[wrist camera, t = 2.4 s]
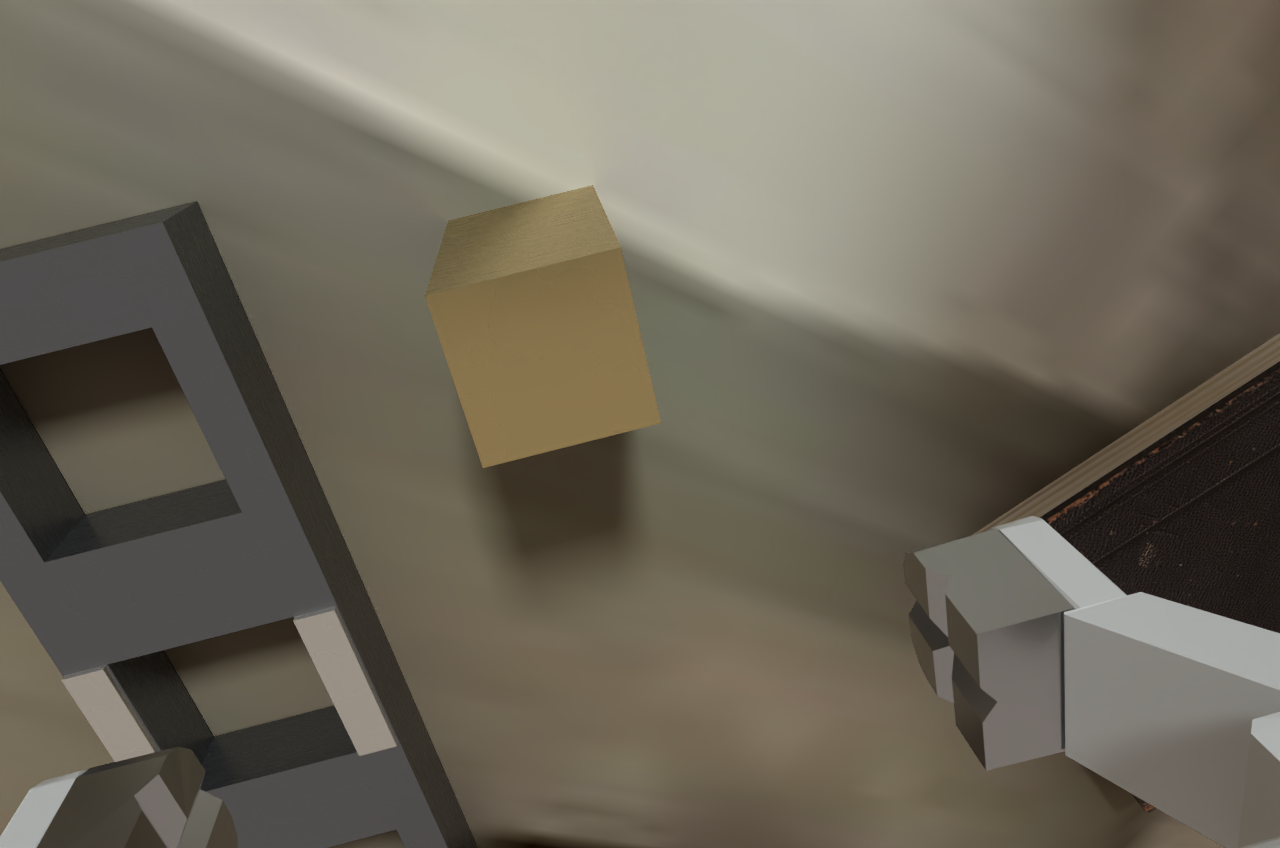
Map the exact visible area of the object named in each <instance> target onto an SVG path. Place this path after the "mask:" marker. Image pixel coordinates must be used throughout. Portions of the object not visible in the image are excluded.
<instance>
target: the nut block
mask: <svg viewBox="0 0 1280 848" xmlns="http://www.w3.org/2000/svg"><path fill="white" fill-rule="evenodd" d="M425 298H426V301H427V304H428V306H429V309H430V312H431V315H432V318H433V321H434V324H435V327H436V330H437V333H438V336H439V339H440V342H441V345H442V348H443V351H444V354H445V357H446V360H447V363H448V366H449V369H450V372H451V375H452V378H453V381H454V384H455V387H456V390H457V393H458V396H459V399H460V401H461V404H462V407H463V410H464V413H465V416H466V419H467V422H468V425H469V428H470V431H471V434H472V437H473V440H474V443H475V446H476V449H477V452H478V455H479V458H480V461H481V464H482V467H483V468H486V467H490V466H493V465H497V464H501V463H505V462H509V461H513V460H517V459H521V458H525V457H529V456H533V455H537V454H541V453H545V452H549V451H553V450H557V449H561V448H565V447H569V446H573V445H577V444H581V443H584V442H588V441H592V440H596V439H600V438H604V437H608V436H612V435H616V434H620V433H624V432H628V431H632V430H636V429H640V428H644V427H648V426H652V425H656V424H660V423H661V421H660V417H659V412H658V408H657V404H656V399H655V395H654V391H653V386H652V382H651V377H650V373H649V369H648V364H647V360H646V356H645V351H644V347H643V343H642V338H641V334H640V329H639V325H638V321H637V316H636V312H635V308H634V303H633V299H632V295H631V290H630V286H629V281H628V277H627V273H626V268H625V264H624V260H623V255H622V251H621V247H620V245H619V242H618V240H617V238H616V236H615V234H614V231H613V229H612V227H611V225H610V222H609V220H608V218H607V216H606V213H605V211H604V209H603V207H602V205H601V202H600V200H599V198H598V196H597V193H596V191H595V189H594V187H593V185H592V186H588V187H584V188H580V189H576V190H572V191H567V192H563V193H559V194H555V195H551V196H547V197H543V198H539V199H535V200H531V201H527V202H523V203H519V204H515V205H511V206H507V207H502V208H498V209H494V210H490V211H486V212H482V213H478V214H474V215H470V216H466V217H462V218H458V219H454V220H450V221H448V224H447V227H446V230H445V233H444V236H443V240H442V243H441V246H440V249H439V252H438V256H437V259H436V262H435V265H434V268H433V272H432V275H431V278H430V281H429V284H428V288H427V291H426V294H425Z"/></svg>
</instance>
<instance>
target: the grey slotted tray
mask: <svg viewBox="0 0 1280 848" xmlns="http://www.w3.org/2000/svg"><path fill="white" fill-rule="evenodd" d="M147 328H153V331H154V333H155V335H156V337H157V339H158V341H159V343H160V345H161V347H162V349H163V351H164V353H165V355H166V357H167V359H168V361H169V363H170V365H171V367H172V370H173V372H174V374H175V376H176V378H177V380H178V382H179V384H180V386H181V388H182V390H183V392H184V394H185V396H186V398H187V400H188V402H189V404H190V407H191V409H192V411H193V413H194V415H195V417H196V419H197V421H198V423H199V425H200V427H201V429H202V431H203V433H204V435H205V437H206V439H207V441H208V443H209V446H210V448H211V450H212V452H213V454H214V456H215V458H216V460H217V462H218V464H219V466H220V468H221V470H222V472H223V474H224V476H225V478H226V479H225V480H221V481H217V482H214V483H210V484H206V485H202V486H198V487H194V488H190V489H186V490H182V491H178V492H174V493H170V494H166V495H162V496H158V497H154V498H150V499H146V500H142V501H138V502H134V503H130V504H126V505H122V506H118V507H114V508H110V509H106V510H102V511H98V512H94V513H90V514H86V515H84V513H83V511H82V509H81V508H80V506H79V504H78V502H77V501H76V499H75V497H74V496H73V494H72V492H71V490H70V489H69V487H68V485H67V484H66V482H65V480H64V478H63V477H62V475H61V473H60V471H59V470H58V468H57V466H56V465H55V463H54V461H53V459H52V458H51V456H50V454H49V453H48V451H47V449H46V447H45V446H44V444H43V442H42V440H41V439H40V437H39V435H38V434H37V432H36V430H35V428H34V427H33V425H32V423H31V421H30V420H29V418H28V416H27V415H26V413H25V411H24V409H23V408H22V406H21V404H20V403H19V401H18V399H17V397H16V396H15V394H14V392H13V390H12V389H11V387H10V385H9V384H8V382H7V380H6V378H5V377H4V375H3V373H2V372H1V370H0V581H1V582H2V584H3V585H4V587H5V589H6V590H7V592H8V593H9V595H10V596H11V598H12V599H13V601H14V602H15V604H16V605H17V607H18V608H19V610H20V611H21V613H22V614H23V616H24V618H25V619H26V621H27V622H28V624H29V625H30V627H31V628H32V630H33V631H34V633H35V634H36V636H37V637H38V639H39V640H40V642H41V643H42V645H43V647H44V648H45V650H46V651H47V653H48V654H49V656H50V657H51V659H52V660H53V662H54V663H55V665H56V666H57V668H58V669H59V671H60V672H61V674H62V676H63V678H62V680H61V681H62V682H63V684H64V685H65V687H66V688H67V690H68V691H69V693H70V694H71V696H72V697H73V699H74V700H75V702H76V703H77V705H78V706H79V708H80V709H81V711H82V712H83V714H84V715H85V717H86V719H87V720H88V722H89V723H90V725H91V726H92V728H93V729H94V731H95V732H96V734H97V735H98V737H99V738H100V740H101V741H102V743H103V744H104V746H105V747H106V749H107V750H108V752H109V753H110V755H111V756H112V758H113V760H114V761H115V762H117V761H121V760H126V759H130V758H134V757H138V756H142V755H146V754H150V753H154V752H158V751H162V750H166V749H171V748H175V747H182V748H186V749H191V750H192V751H193V753H194V754H195V756H196V757H197V759H198V760H199V762H200V763H201V765H202V766H203V768H204V769H205V771H206V772H205V775H204V778H203V782H202V785H201V788H200V789H201V790H203V791H205V792H207V793H209V794H211V795H213V796H215V797H217V798H219V799H221V800H223V802H224V803H225V805H226V807H227V809H228V810H229V812H230V814H231V816H232V818H233V822H234V826H235V829H236V833H237V836H238V848H328V847H332V846H336V845H340V844H344V843H347V842H351V841H355V840H359V839H363V838H366V837H370V836H374V835H378V834H382V833H385V832H389V831H393V830H397V832H398V834H399V836H400V838H401V840H402V842H403V844H404V846H405V848H477V845H476V843H475V841H474V838H473V836H472V834H471V831H470V829H469V827H468V825H467V822H466V820H465V818H464V815H463V813H462V811H461V808H460V806H459V804H458V802H457V799H456V797H455V795H454V792H453V790H452V788H451V785H450V783H449V781H448V778H447V776H446V774H445V772H444V769H443V767H442V765H441V762H440V760H439V758H438V755H437V753H436V751H435V749H434V746H433V744H432V742H431V739H430V737H429V735H428V732H427V730H426V728H425V725H424V723H423V721H422V719H421V716H420V714H419V712H418V709H417V707H416V705H415V702H414V700H413V698H412V696H411V693H410V691H409V689H408V686H407V684H406V682H405V679H404V677H403V675H402V673H401V670H400V668H399V666H398V663H397V661H396V659H395V656H394V654H393V652H392V649H391V647H390V645H389V643H388V640H387V638H386V636H385V633H384V631H383V629H382V626H381V624H380V622H379V620H378V617H377V615H376V613H375V610H374V608H373V606H372V603H371V601H370V599H369V597H368V594H367V592H366V590H365V587H364V585H363V583H362V580H361V578H360V576H359V573H358V571H357V569H356V567H355V564H354V562H353V560H352V557H351V555H350V553H349V550H348V548H347V546H346V544H345V541H344V539H343V537H342V534H341V532H340V530H339V527H338V525H337V523H336V520H335V518H334V516H333V514H332V511H331V509H330V507H329V504H328V502H327V500H326V497H325V495H324V493H323V491H322V488H321V486H320V484H319V481H318V479H317V477H316V474H315V472H314V470H313V468H312V465H311V463H310V461H309V458H308V456H307V454H306V451H305V449H304V447H303V444H302V442H301V440H300V438H299V435H298V433H297V431H296V428H295V426H294V424H293V421H292V419H291V417H290V415H289V412H288V410H287V408H286V405H285V403H284V401H283V398H282V396H281V394H280V392H279V389H278V387H277V385H276V382H275V380H274V378H273V375H272V373H271V371H270V368H269V366H268V364H267V362H266V359H265V357H264V355H263V352H262V350H261V348H260V345H259V343H258V341H257V339H256V336H255V334H254V332H253V329H252V327H251V325H250V322H249V320H248V318H247V315H246V313H245V311H244V309H243V306H242V304H241V302H240V299H239V297H238V295H237V292H236V290H235V288H234V286H233V283H232V281H231V279H230V276H229V274H228V272H227V269H226V267H225V265H224V263H223V260H222V258H221V256H220V253H219V251H218V249H217V246H216V244H215V242H214V239H213V237H212V235H211V233H210V230H209V228H208V226H207V223H206V221H205V219H204V216H203V214H202V212H201V210H200V207H199V205H198V203H197V201H196V202H192V203H188V204H184V205H180V206H176V207H172V208H167V209H163V210H159V211H155V212H151V213H147V214H143V215H139V216H135V217H131V218H126V219H122V220H118V221H114V222H110V223H106V224H102V225H98V226H94V227H90V228H85V229H81V230H77V231H73V232H69V233H65V234H61V235H57V236H53V237H48V238H44V239H40V240H36V241H32V242H28V243H24V244H20V245H16V246H12V247H7V248H3V249H0V365H2V364H6V363H10V362H14V361H18V360H22V359H26V358H30V357H34V356H38V355H42V354H46V353H50V352H54V351H58V350H62V349H66V348H70V347H75V346H79V345H83V344H87V343H91V342H95V341H99V340H103V339H107V338H111V337H115V336H119V335H123V334H127V333H131V332H135V331H139V330H143V329H147ZM291 617H293V618H294V620H293V622H294V624H295V626H296V628H297V630H298V632H299V634H300V636H301V638H302V640H303V642H304V644H305V646H306V648H307V650H308V652H309V654H310V656H311V658H312V660H313V663H314V665H315V667H316V669H317V671H318V673H319V675H320V677H321V679H322V681H323V683H324V685H325V687H326V689H327V691H328V693H329V695H330V697H331V699H332V701H333V703H334V706H331V707H327V708H323V709H320V710H316V711H312V712H308V713H304V714H300V715H296V716H292V717H289V718H285V719H281V720H277V721H273V722H269V723H265V724H262V725H258V726H254V727H250V728H246V729H242V730H238V731H234V732H231V733H227V734H223V735H219V736H215V737H213V735H212V733H211V732H210V730H209V728H208V726H207V725H206V723H205V721H204V720H203V718H202V716H201V714H200V713H199V711H198V709H197V708H196V706H195V704H194V702H193V701H192V699H191V697H190V695H189V694H188V692H187V690H186V689H185V687H184V685H183V683H182V682H181V680H180V678H179V677H178V675H177V673H176V671H175V670H174V668H173V666H172V664H171V663H170V661H169V659H168V658H167V656H166V654H165V652H164V651H163V650H166V649H170V648H174V647H178V646H182V645H186V644H190V643H194V642H197V641H201V640H205V639H209V638H213V637H217V636H221V635H225V634H229V633H233V632H237V631H240V630H244V629H248V628H252V627H256V626H260V625H264V624H268V623H272V622H276V621H280V620H283V619H287V618H291Z"/></svg>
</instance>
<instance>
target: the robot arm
mask: <svg viewBox="0 0 1280 848" xmlns="http://www.w3.org/2000/svg"><path fill="white" fill-rule="evenodd" d="M903 566H904V576H905V584H906V585H907V587H908V588H909V590H910V591H911V592H912V594H913V595H914V597H915V598H916V600H917V602H916V603H915V605H914V607H913V608H912V610H911V612H910V613H909V622H910V629H911V636H912V641H913V644H914V648H915V651H916V654H917V657H918V661H919V663H920V666H921V668H922V670H923V672H924V674H925V676H926V678H927V680H928V682H929V683H930V685H931V687H932V688H933V690H934V691H935V693H936V695H937V696H939V697H941V698H943V699H945V700H947V701H949V702H952V703H954V709H955V719H956V726H957V727H958V729H959V730H960V732H961V733H962V735H963V736H964V738H965V739H966V741H967V742H968V744H969V745H970V747H971V748H972V750H973V751H974V753H975V755H976V756H977V758H978V759H979V761H980V762H981V764H982V765H983V767H984V768H985V770H986V771H987V770H991V769H995V768H999V767H1003V766H1007V765H1011V764H1016V763H1020V762H1024V761H1028V760H1032V759H1036V758H1040V757H1044V756H1048V755H1052V754H1056V753H1060V752H1064V751H1065V755H1066V756H1068V757H1069V758H1071V759H1073V760H1074V761H1076V762H1078V763H1080V764H1081V765H1083V766H1085V767H1086V768H1088V769H1090V770H1092V771H1093V772H1095V773H1097V774H1099V775H1100V776H1102V777H1104V778H1105V779H1107V780H1109V781H1111V782H1112V783H1114V784H1116V785H1118V786H1119V787H1121V788H1123V789H1124V790H1126V791H1128V792H1130V793H1131V794H1133V795H1135V796H1137V797H1138V798H1140V799H1142V800H1143V801H1145V802H1147V803H1149V804H1150V805H1152V806H1154V807H1155V808H1157V809H1159V810H1161V811H1162V812H1164V813H1166V814H1168V815H1169V816H1171V817H1173V818H1174V819H1176V820H1178V821H1180V822H1181V823H1183V824H1185V825H1187V826H1188V827H1190V828H1192V829H1193V830H1195V831H1197V832H1199V833H1200V834H1202V835H1204V836H1206V837H1207V838H1209V839H1211V840H1212V841H1214V842H1216V843H1218V844H1219V845H1221V846H1223V847H1224V848H1280V633H1276V632H1273V631H1270V630H1266V629H1263V628H1260V627H1256V626H1253V625H1250V624H1246V623H1243V622H1240V621H1236V620H1233V619H1230V618H1226V617H1223V616H1220V615H1216V614H1213V613H1210V612H1206V611H1203V610H1200V609H1196V608H1193V607H1190V606H1186V605H1183V604H1180V603H1176V602H1173V601H1170V600H1166V599H1163V598H1159V597H1156V596H1153V595H1149V594H1146V593H1143V592H1139V593H1135V594H1131V595H1126V594H1125V593H1124V592H1123V591H1122V590H1121V589H1120V588H1119V587H1118V586H1116V585H1115V584H1114V583H1113V582H1112V581H1111V580H1110V579H1109V578H1108V577H1106V576H1105V575H1104V574H1103V573H1102V572H1101V571H1100V570H1099V569H1098V568H1096V567H1095V566H1094V565H1093V564H1092V563H1091V562H1090V561H1089V560H1088V559H1086V558H1085V557H1084V556H1083V555H1082V554H1081V553H1080V552H1079V551H1078V550H1076V549H1075V548H1074V547H1073V546H1072V545H1071V544H1070V543H1069V542H1068V541H1066V540H1065V539H1064V538H1063V537H1062V536H1061V535H1060V534H1059V533H1058V532H1056V531H1055V530H1054V529H1053V528H1052V527H1051V526H1050V525H1049V524H1048V523H1046V522H1045V521H1044V520H1043V519H1042V518H1039V517H1035V516H1030V517H1026V518H1023V519H1020V520H1016V521H1013V522H1010V523H1006V524H1003V525H1000V526H996V527H993V528H990V530H988V531H984V532H981V533H977V534H973V535H969V536H966V537H962V538H958V539H955V540H951V541H947V542H944V543H940V544H936V545H933V546H929V547H925V548H922V549H918V550H914V551H911V552H907V553H905V557H904V564H903ZM205 772H206V771H205V769H204V768H203V766H202V765H201V763H200V762H199V760H198V759H197V757H196V756H195V754H194V753H193V751H192V750H191V749H186V748H182V747H175V748H171V749H166V750H162V751H158V752H154V753H150V754H146V755H142V756H138V757H134V758H130V759H126V760H121V761H117V762H113V763H109V764H105V765H101V766H97V767H93V768H90V769H88V770H83V771H78V772H74V773H70V774H67V775H63V776H59V777H55V778H51V779H47V780H44V781H43V782H41V783H39V784H38V785H36V786H35V787H33V788H31V789H30V790H29V792H28V793H27V795H26V797H25V798H24V800H23V801H22V803H21V804H20V806H19V808H18V809H17V811H16V812H15V814H14V816H13V817H12V819H11V820H10V822H9V824H8V825H7V827H6V828H5V830H4V832H3V833H2V835H1V836H0V848H238V836H237V833H236V829H235V826H234V822H233V818H232V816H231V814H230V812H229V810H228V809H227V807H226V805H225V803H224V802H223V800H221V799H219V798H217V797H215V796H213V795H211V794H209V793H207V792H205V791H203V790H201V789H200V788H201V785H202V782H203V778H204V775H205Z"/></svg>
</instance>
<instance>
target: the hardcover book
mask: <svg viewBox="0 0 1280 848" xmlns="http://www.w3.org/2000/svg"><path fill="white" fill-rule="evenodd" d="M1030 516H1035V517H1039V518H1042V519H1043V520H1044V521H1045V522H1046V523H1048V524H1049V525H1050V526H1051V527H1052V528H1053V529H1054V530H1055V531H1056V532H1058V533H1059V534H1060V535H1061V536H1062V537H1063V538H1064V539H1065V540H1066V541H1068V542H1069V543H1070V544H1071V545H1072V546H1073V547H1074V548H1075V549H1076V550H1078V551H1079V552H1080V553H1081V554H1082V555H1083V556H1084V557H1085V558H1086V559H1088V560H1089V561H1090V562H1091V563H1092V564H1093V565H1094V566H1095V567H1096V568H1098V569H1099V570H1100V571H1101V572H1102V573H1103V574H1104V575H1105V576H1106V577H1108V578H1109V579H1110V580H1111V581H1112V582H1113V583H1114V584H1115V585H1116V586H1118V587H1119V588H1120V589H1121V590H1122V591H1123V592H1124V593H1125V594H1126V595H1131V594H1135V593H1139V592H1143V593H1146V594H1149V595H1153V596H1156V597H1159V598H1163V599H1166V600H1170V601H1173V602H1176V603H1180V604H1183V605H1186V606H1190V607H1193V608H1196V609H1200V610H1203V611H1206V612H1210V613H1213V614H1216V615H1220V616H1223V617H1226V618H1230V619H1233V620H1236V621H1240V622H1243V623H1246V624H1250V625H1253V626H1256V627H1260V628H1263V629H1266V630H1270V631H1273V632H1276V633H1280V333H1279V334H1277V335H1276V336H1274V337H1273V338H1271V339H1269V340H1268V341H1266V342H1265V343H1263V344H1262V345H1260V346H1259V347H1257V348H1256V349H1254V350H1253V351H1251V352H1250V353H1248V354H1247V355H1245V356H1244V357H1242V358H1241V359H1239V360H1238V361H1236V362H1234V363H1233V364H1231V365H1230V366H1228V367H1227V368H1225V369H1224V370H1222V371H1221V372H1219V373H1218V374H1216V375H1215V376H1213V377H1212V378H1210V379H1209V380H1207V381H1206V382H1204V383H1203V384H1201V385H1199V386H1198V387H1196V388H1195V389H1193V390H1192V391H1190V392H1189V393H1187V394H1186V395H1184V396H1183V397H1181V398H1180V399H1178V400H1177V401H1175V402H1174V403H1172V404H1171V405H1169V406H1168V407H1166V408H1164V409H1163V410H1161V411H1160V412H1158V413H1157V414H1155V415H1154V416H1152V417H1151V418H1149V419H1148V420H1146V421H1145V422H1143V423H1142V424H1140V425H1139V426H1137V427H1136V428H1134V429H1132V430H1131V431H1129V432H1128V433H1126V434H1125V435H1123V436H1122V437H1120V438H1119V439H1117V440H1116V441H1114V442H1113V443H1111V444H1110V445H1108V446H1107V447H1105V448H1104V449H1102V450H1101V451H1099V452H1097V453H1096V454H1094V455H1093V456H1091V457H1090V458H1088V459H1087V460H1085V461H1084V462H1082V463H1081V464H1079V465H1078V466H1076V467H1075V468H1073V469H1072V470H1070V471H1069V472H1067V473H1066V474H1064V475H1062V476H1061V477H1059V478H1058V479H1056V480H1055V481H1053V482H1052V483H1050V484H1049V485H1047V486H1046V487H1044V488H1043V489H1041V490H1040V491H1038V492H1037V493H1035V494H1034V495H1032V496H1031V497H1029V498H1027V499H1026V500H1024V501H1023V502H1021V503H1020V504H1018V505H1017V506H1015V507H1014V508H1012V509H1011V510H1009V511H1008V512H1006V513H1005V514H1003V515H1002V516H1000V517H999V518H997V519H996V520H994V521H992V522H991V523H989V524H988V525H986V526H985V527H983V528H982V529H980V530H979V531H977V532H976V533H974V534H977V533H981V532H984V531H988V530H990V528H993V527H996V526H1000V525H1003V524H1006V523H1010V522H1013V521H1016V520H1020V519H1023V518H1026V517H1030ZM1132 795H1133V794H1132ZM1133 796H1134V797H1135V799H1136V800H1137V801H1138V802H1139V804H1140V805H1141V806H1142V808H1143V809H1144V810H1145V811H1146V812H1151V811H1153V810H1154V809H1156V808H1155V807H1154V806H1152V805H1150V804H1149V803H1147V802H1145V801H1143V800H1142V799H1140V798H1138V797H1137V796H1135V795H1133Z"/></svg>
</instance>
